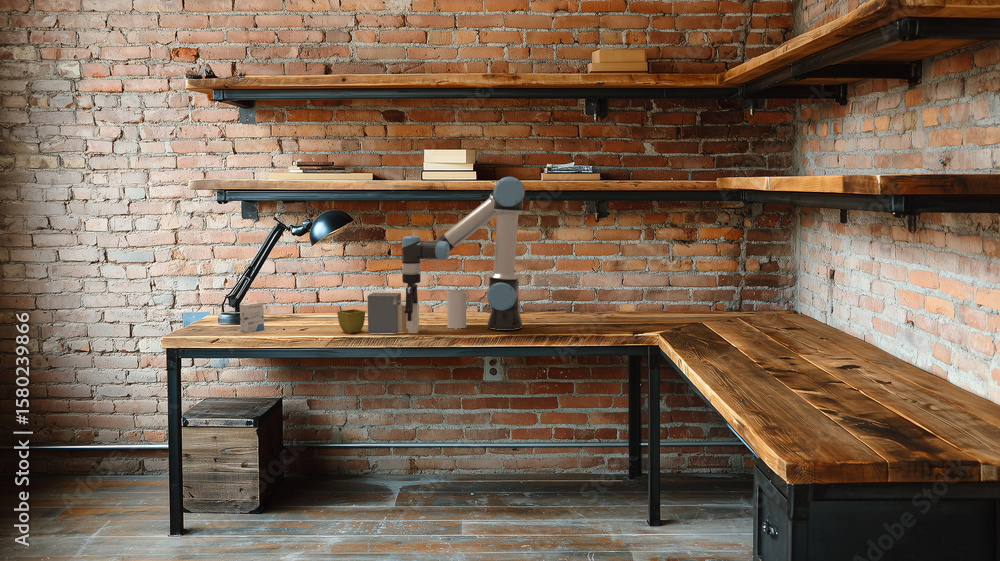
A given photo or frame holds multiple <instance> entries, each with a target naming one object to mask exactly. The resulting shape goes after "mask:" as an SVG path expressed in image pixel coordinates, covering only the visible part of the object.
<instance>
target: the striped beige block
mask: <svg viewBox="0 0 1000 561" xmlns="http://www.w3.org/2000/svg"><path fill="white" fill-rule="evenodd" d="M405 308H406V302H405V303H404V302H403V303H402V302H401V303H398V304H397V320H398V332H405V333H417V332H418V331H419V332H420V305H419V302H418V303H413V312H412V313H413V329H407V324H406V313H404V311H405ZM419 332H418V333H419ZM418 333H417V334H418Z"/></svg>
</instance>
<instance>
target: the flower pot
mask: <svg viewBox="0 0 1000 561" xmlns="http://www.w3.org/2000/svg"><path fill="white" fill-rule="evenodd" d="M336 313H337V319H338V324H339V327H340V329H341V330H342V331H343V333H347V332H348V333H347V334H353V332H355V333H360V332H361V331H362V329H363V327H364V324H365V321H366V320H365V319H366V318H365V317H366V310H359V309H355V308H353V309H345V310H337V311H336Z"/></svg>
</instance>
